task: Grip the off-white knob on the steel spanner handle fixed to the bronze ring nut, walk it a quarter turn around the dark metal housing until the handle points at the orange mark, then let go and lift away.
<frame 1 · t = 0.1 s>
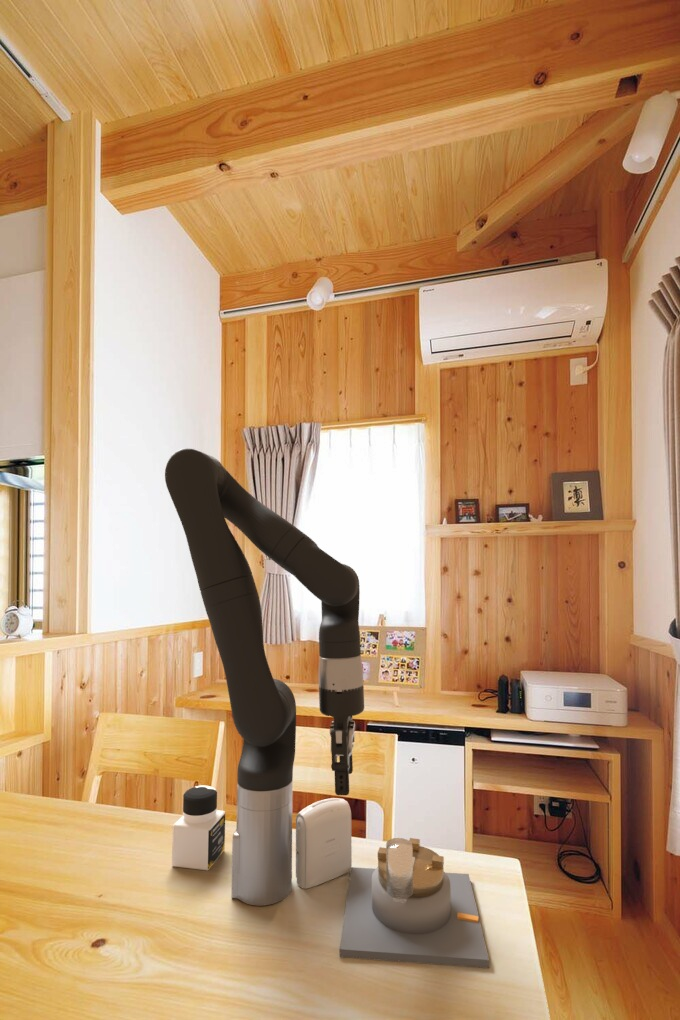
hand: (344, 783, 89), 17 cm above the table, tool pointing down, fingers open, 8 cm apart
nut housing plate: (411, 914, 83), on the table
photo printer: (323, 877, 93), on the table
medicine bottle: (198, 859, 98), on the table
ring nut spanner: (407, 856, 80), point 10 cm above the table, hinge at 0.0°
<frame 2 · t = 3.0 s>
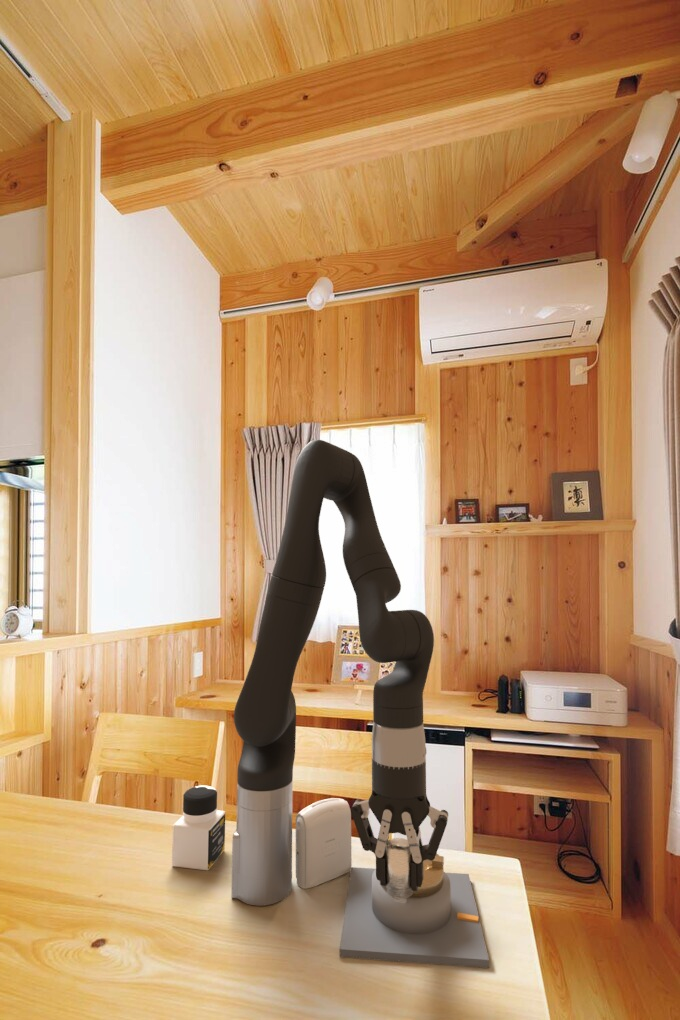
hand: (399, 884, 74), 10 cm above the table, tool pointing down, fingers closed on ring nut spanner, 3 cm apart
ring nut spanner: (406, 856, 80), point 10 cm above the table, hinge at 0.0°, touching gripper
everything else where it was.
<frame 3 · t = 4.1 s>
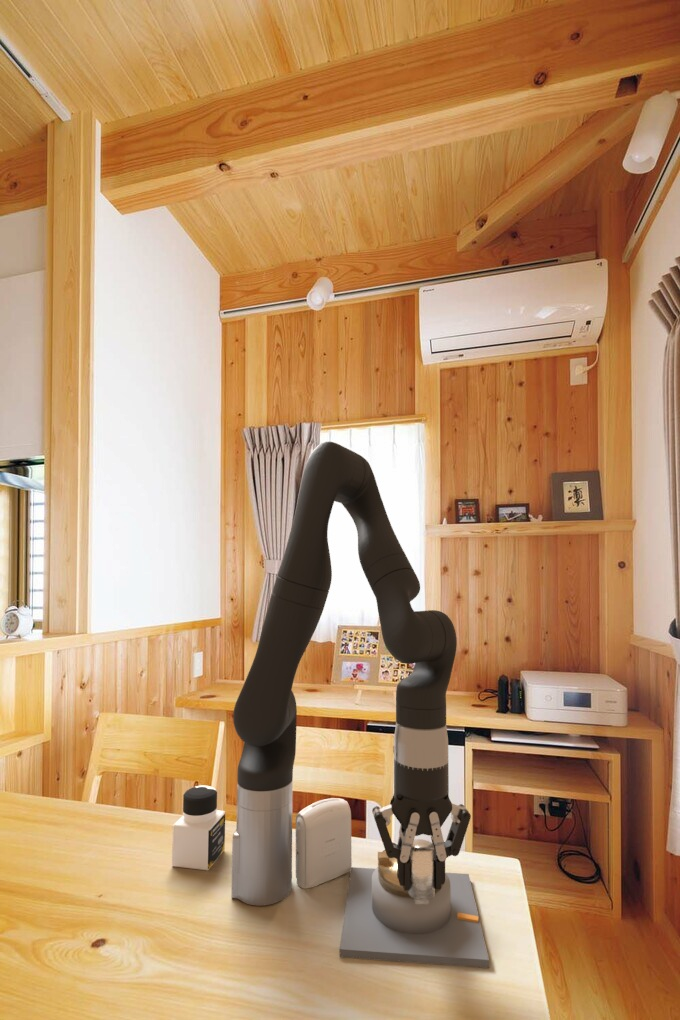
hand: (421, 885, 74), 10 cm above the table, tool pointing down, fingers closed on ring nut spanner, 3 cm apart
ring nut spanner: (413, 856, 80), point 10 cm above the table, hinge at 16.9°, touching gripper
everything else where it was.
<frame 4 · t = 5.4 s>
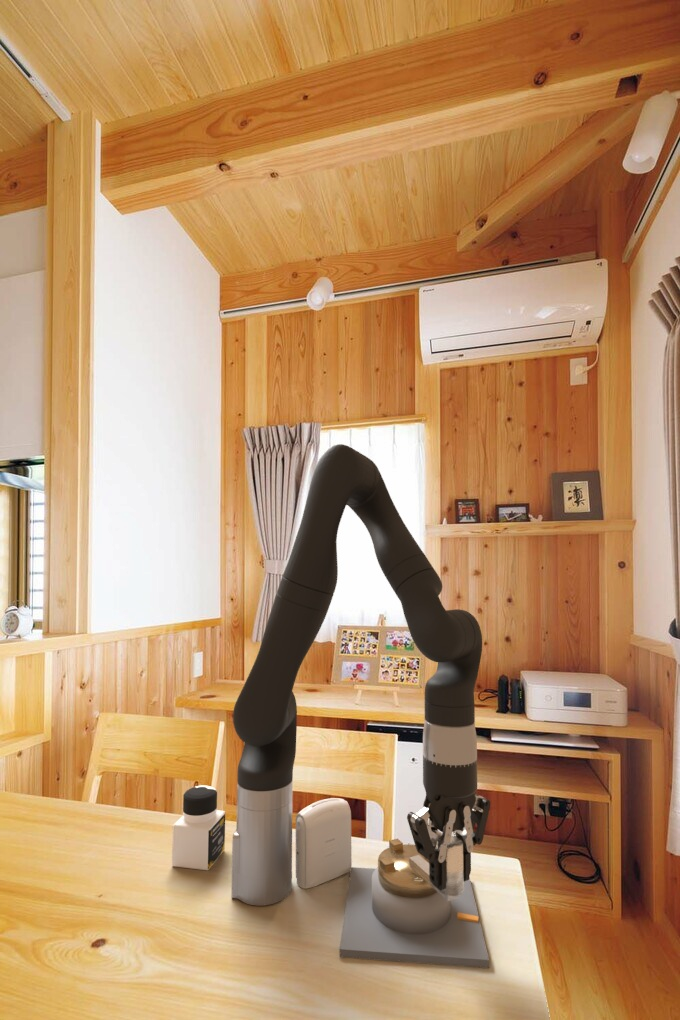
hand: (450, 881, 75), 10 cm above the table, tool pointing down, fingers closed on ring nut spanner, 3 cm apart
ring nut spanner: (422, 855, 81), point 10 cm above the table, hinge at 41.8°, touching gripper
everything else where it was.
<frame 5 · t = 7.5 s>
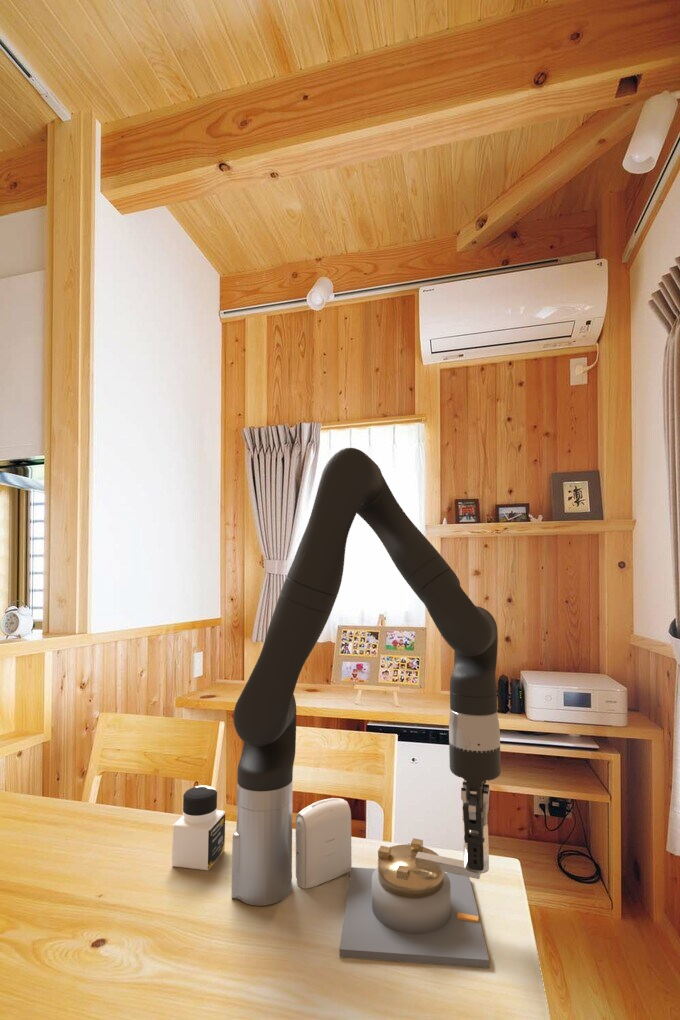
hand: (477, 858, 80), 10 cm above the table, tool pointing down, fingers open, 4 cm apart
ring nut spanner: (432, 849, 82), point 10 cm above the table, hinge at 83.8°
everything else where it was.
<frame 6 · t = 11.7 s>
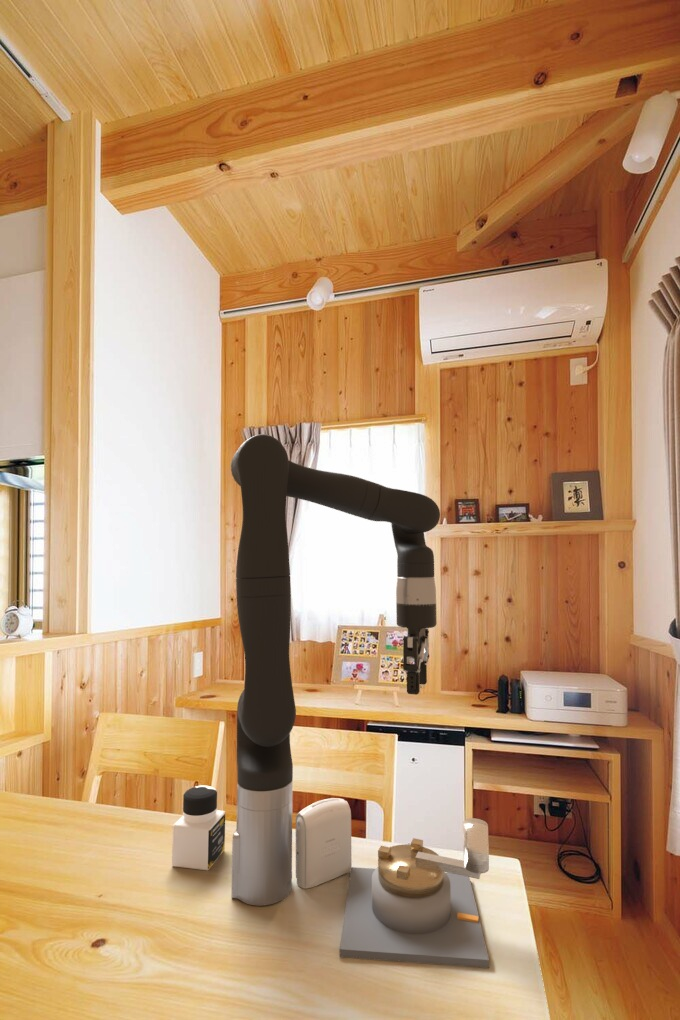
hand: (417, 688, 101), 30 cm above the table, tool pointing down, fingers open, 8 cm apart
nothing on the table moved.
at the end: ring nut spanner at +84° (first picture: +0°); the gripper is holding nothing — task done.
